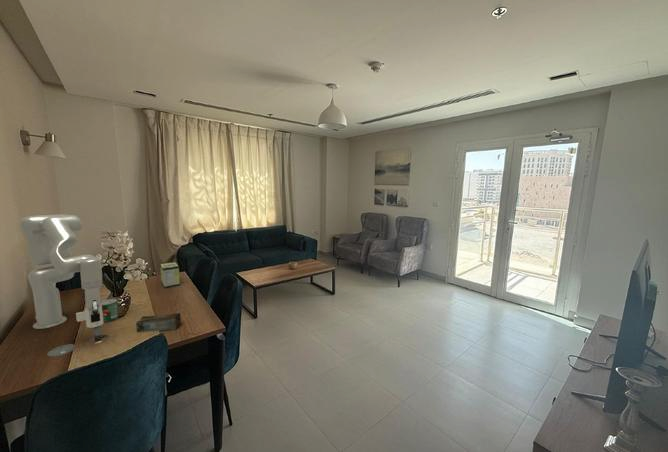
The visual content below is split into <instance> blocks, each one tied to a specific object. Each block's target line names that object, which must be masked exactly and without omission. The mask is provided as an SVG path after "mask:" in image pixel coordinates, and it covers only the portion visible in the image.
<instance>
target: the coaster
mask: <svg viewBox="0 0 668 452" xmlns="http://www.w3.org/2000/svg"><path fill="white" fill-rule="evenodd" d="M75 349H76V344H72V343H71V344H70V343H69V344H64V345H60V346H57V347H54V348H52V349H51V350H49V351H48V352H47V356H48V357H53V358H54V357H59V356H63V355H66V354H69V353H71V352H72V351H74V350H75Z"/></svg>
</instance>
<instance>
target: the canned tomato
mask: <svg viewBox="0 0 668 452" xmlns="http://www.w3.org/2000/svg"><path fill="white" fill-rule="evenodd" d="M100 305H102V312H103V321H104V322H103V324H105V323H106V324H107V323H110V322H111V323H112V322H114V321H116V320H118V319H119V310H118V308H119V307H118V299H116V298H110V299H104V300H102V301H101V300H100Z"/></svg>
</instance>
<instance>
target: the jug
mask: <svg viewBox="0 0 668 452" xmlns="http://www.w3.org/2000/svg"><path fill="white" fill-rule="evenodd" d="M92 308H93V307H92ZM92 310H94V309H92ZM99 313H100V321H97V322H93V323H92V322H91V309H89V310H87V308H86V307H85V308H84V311H80V312H76V313H75V316H76V323H77V322H83V321H85V324H86V328H90V329H93V327H98V326H100V327H101V326H102V325H103V324H104V323H103V322H104V321H103V312H102V305H100V307H99Z"/></svg>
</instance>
